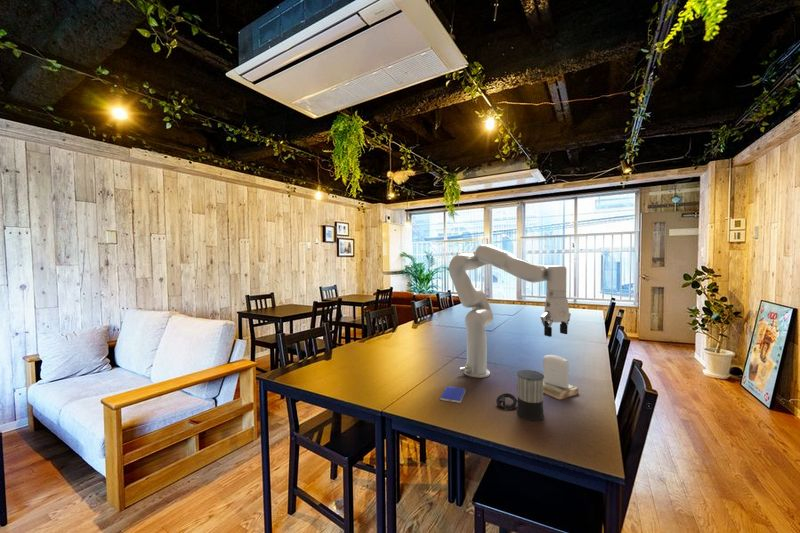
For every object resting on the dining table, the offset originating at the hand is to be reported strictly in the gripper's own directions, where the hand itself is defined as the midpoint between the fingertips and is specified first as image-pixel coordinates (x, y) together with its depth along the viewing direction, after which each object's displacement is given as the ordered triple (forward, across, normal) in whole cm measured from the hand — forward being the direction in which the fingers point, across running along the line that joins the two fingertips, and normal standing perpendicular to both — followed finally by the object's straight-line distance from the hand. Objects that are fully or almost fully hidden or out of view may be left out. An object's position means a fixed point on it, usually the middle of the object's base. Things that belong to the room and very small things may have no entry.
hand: (555, 334), depth 135 cm
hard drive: (+25, -41, +16) cm, 51 cm away
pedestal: (+24, 0, 0) cm, 24 cm away
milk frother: (+24, -27, -6) cm, 37 cm away
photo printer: (+22, 0, 0) cm, 22 cm away
